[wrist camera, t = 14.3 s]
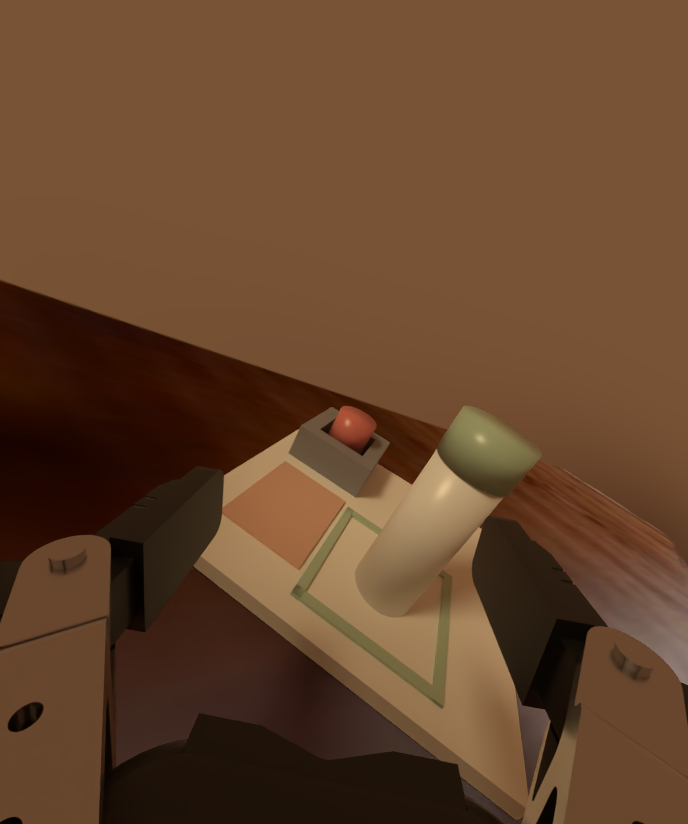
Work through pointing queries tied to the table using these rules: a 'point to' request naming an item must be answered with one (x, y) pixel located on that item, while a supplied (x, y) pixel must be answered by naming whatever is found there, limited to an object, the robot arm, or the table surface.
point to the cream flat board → (351, 615)
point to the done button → (352, 428)
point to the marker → (443, 509)
